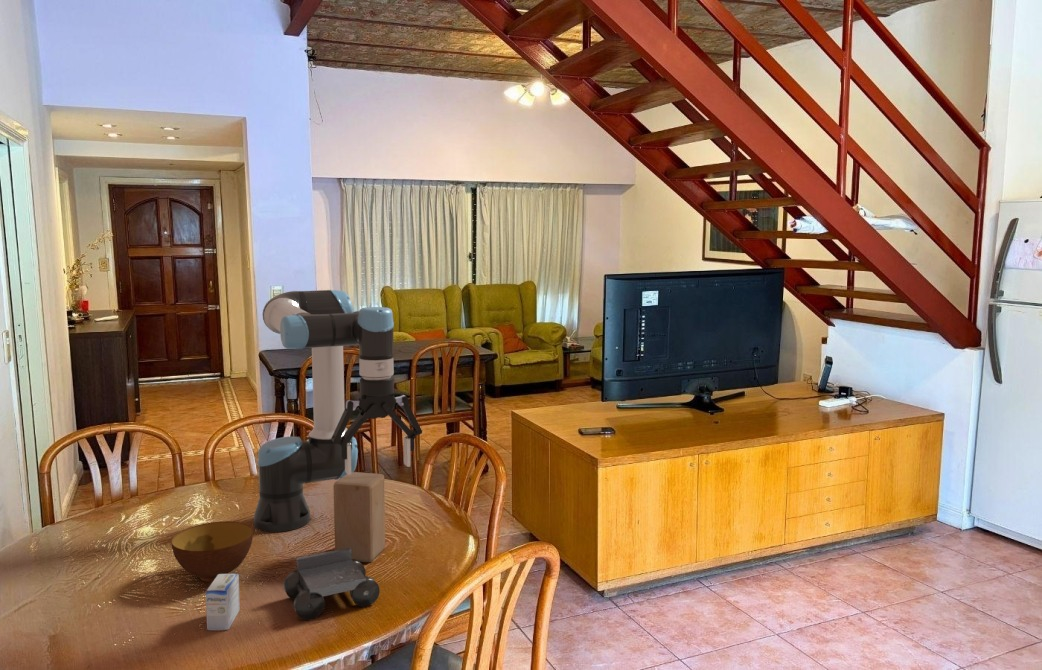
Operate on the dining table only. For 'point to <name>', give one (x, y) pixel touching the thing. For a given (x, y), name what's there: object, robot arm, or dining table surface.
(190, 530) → the bowl
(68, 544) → the dining table surface
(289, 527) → the robot arm
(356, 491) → the wooden block
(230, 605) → the medicine box
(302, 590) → the trolley
